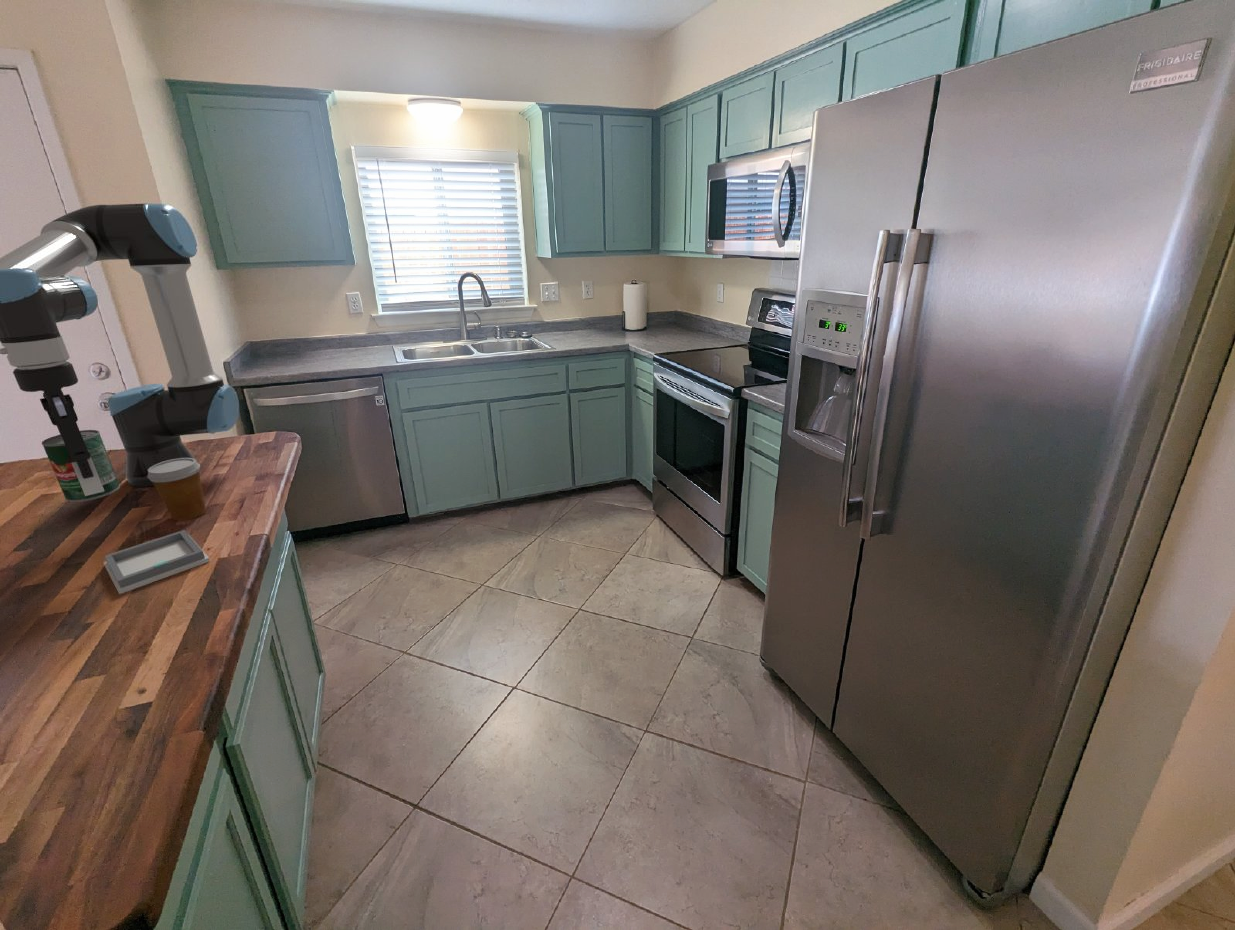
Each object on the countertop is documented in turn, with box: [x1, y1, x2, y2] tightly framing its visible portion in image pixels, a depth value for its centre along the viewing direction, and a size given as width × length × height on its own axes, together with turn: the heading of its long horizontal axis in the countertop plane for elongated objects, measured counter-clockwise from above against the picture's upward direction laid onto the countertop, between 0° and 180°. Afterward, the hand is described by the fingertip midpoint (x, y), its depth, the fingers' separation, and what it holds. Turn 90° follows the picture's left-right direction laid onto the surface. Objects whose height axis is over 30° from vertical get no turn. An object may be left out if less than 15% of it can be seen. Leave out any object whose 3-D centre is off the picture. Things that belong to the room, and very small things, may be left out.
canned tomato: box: [41, 429, 121, 503], centre depth 106 cm, size 8×8×11 cm
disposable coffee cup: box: [147, 458, 207, 521], centre depth 129 cm, size 10×10×12 cm
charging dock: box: [103, 529, 211, 595], centre depth 112 cm, size 14×14×2 cm
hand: (91, 486), depth 108 cm, fingers closed on canned tomato, 8 cm apart
